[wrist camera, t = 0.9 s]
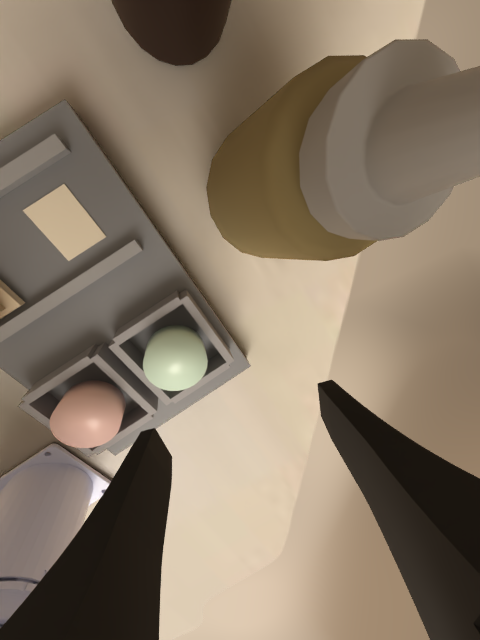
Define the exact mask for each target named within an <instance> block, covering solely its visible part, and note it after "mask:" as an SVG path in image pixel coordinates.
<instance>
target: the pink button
mask: <svg viewBox="0 0 480 640" xmlns="http://www.w3.org/2000/svg"><path fill="white" fill-rule="evenodd" d="M125 404H126V403H125V398H124V396H123V394H122V393H121V391H120V390H119V389H118V388H116V387H115V386H113V385H112V384H109V383H107V382H103V381H95V380H92V381H84V382H81V383H78V384H76V385H74V386H72V387H71V388H70V389H69V390H68V391H67V392H66V393H65V394H64V396H63V398H62V399H61V401H60V402H59V404H58V405H57V407H56V408H55V410H54V411H53V413H52V415H51V417H50V422H49V424H50V429H51V432H52V434H53V435H54V436H55V437H56V438H57V439H58V440H59V441H60V442H62V443H64V444H66V445H69V446H72V447H76V448H92V447H97V446H100V445H103V444H105V443H107V442H108V441H110V440H111V439H112V438H113V437H114V436H115V435H116V434H117V432H118V431H119V428H120V425H121V421H122V418H123V414H124V410H125Z"/></svg>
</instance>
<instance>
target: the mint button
mask: <svg viewBox="0 0 480 640" xmlns="http://www.w3.org/2000/svg"><path fill="white" fill-rule="evenodd" d="M207 364H208V360H207V355H206V351H205V346H204V343H203V340H202V338H201V337H200V335H199V334H198V333H197V332H196V331H194V330H193V329H191V328H189V327H186V326H182V325H171V326H167V327H164V328H161V329H160V330H158V331H157V332H155V333H154V334H153V335H152V336H151V338H150V339H149V341H148V343H147V347H146V351H145V356H144V360H143V370H144V373H145V376H146V377H147V379H148V380H149V381H150V382H151V383H152V384H153V385H155V386H156V387H158V388H160V389H163V390H167V391H180V390H184V389H187V388H190V387H192V386H193V385H195V384H196V383H197V382H199V381H200V380H201V378H202V377H203V376H204V374H205V372H206V369H207Z"/></svg>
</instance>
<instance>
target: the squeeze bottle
mask: <svg viewBox="0 0 480 640" xmlns="http://www.w3.org/2000/svg"><path fill="white" fill-rule="evenodd" d="M477 177H480V66H478V67H475V68H471V69H467V70H464V71H460V70H459V68H458V66H457V64H456V62H455V59H454V58H452V57H451V56H449V55H448V54H447V53H445V52H444V51H443V50H441V49H440V48H438V47H437V46H436V45H434V44H433V43H432V42H430V41H429V40H394V41H392V42H391V43H389V44H387V45H386V46H384V47H383V48H381V49H379V50H378V51H376V52H375V53H373V54H371V55H370V56H368V57H365V56H364V55H360V56H327V57H326V58H324V59H323V60H321V61H319V62H318V63H316V64H315V65H313V66H311V67H310V68H308V69H306V70H305V71H303V72H302V73H300V74H298V75H297V76H295V77H294V78H293V79H292V80H290V81H289V82H288V83H287V84H286V85H285V86H284V87H282V88H281V89H280V90H279V91H278V92H277V93H276V94H275V95H273V96H272V97H271V98H270V99H269V100H268V101H267V102H266V103H264V104H263V105H262V106H261V107H260V108H259V109H258V110H257V111H255V112H254V113H253V114H252V115H251V116H250V117H249V118H248V119H246V120H245V121H244V122H243V123H242V124H241V125H240V126H238V127H237V128H236V129H235V130H234V131H233V132H232V133H231V134H229V135H228V136H227V138H226V139H225V141H224V142H223V144H222V145H221V147H220V148H219V150H218V152H217V153H216V155H215V156H214V158H213V159H212V163H211V168H210V173H209V178H208V182H207V187H206V189H207V195H208V202H209V208H210V214H211V217H212V219H213V220H214V222H215V224H216V226H217V228H218V229H219V231H220V233H221V235H222V237H223V238H224V239H225V240H227V241H228V242H229V243H230V244H232V245H233V246H234V247H235V248H237V249H238V250H239V251H240V252H242V253H246V254H250V255H254V256H257V257H261V258H278V259H299V260H320V261H328V260H334V259H340V258H345V257H351V256H355V255H356V254H358V253H359V252H361V251H362V250H364V249H366V248H367V247H369V246H370V245H372V244H373V243H375V242H377V241H381V240H387V239H393V238H399V237H404V236H405V235H407V234H408V233H410V232H412V231H413V230H415V229H416V228H418V227H420V226H421V225H423V224H424V223H426V222H427V221H428V220H429V219H430V218H431V217H432V216H433V215H434V213H435V212H436V211H437V210H438V209H439V207H440V206H441V205H442V204H443V203H444V201H445V200H446V199H447V198H448V196H449V195H450V194H451V192H452V189H453V187H454V186H455V185H458V184H461V183H464V182H466V181H469V180H472V179H474V178H477Z"/></svg>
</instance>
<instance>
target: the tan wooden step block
mask: <svg viewBox="0 0 480 640" xmlns="http://www.w3.org/2000/svg"><path fill="white" fill-rule="evenodd" d="M23 304H25V302H24V301H23V300H22V299H21V298H20V297H19V296H18V295H16V294H15V293H14V292H13V291H12V290H11V289H10V288H9V287H8V286H7V285H6V284H5V283H4V282H2V281H1V280H0V319H1V318H3V317H4V316H6V315H8V314H9V313H11V312H12V311H14V310H15V309H17V308H18V307H20V306H21V305H23Z"/></svg>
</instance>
